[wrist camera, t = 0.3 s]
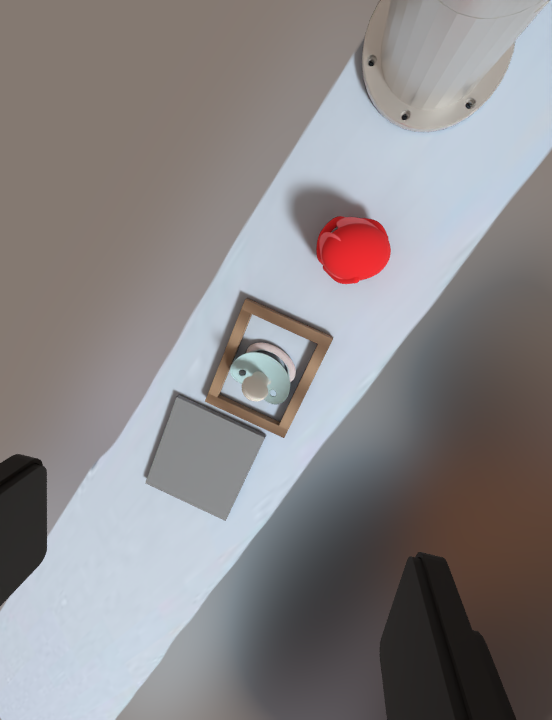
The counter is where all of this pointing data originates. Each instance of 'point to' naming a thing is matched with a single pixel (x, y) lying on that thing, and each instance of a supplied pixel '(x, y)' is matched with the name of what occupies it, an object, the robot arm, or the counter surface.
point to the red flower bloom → (353, 249)
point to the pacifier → (264, 373)
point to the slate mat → (204, 457)
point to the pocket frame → (231, 350)
